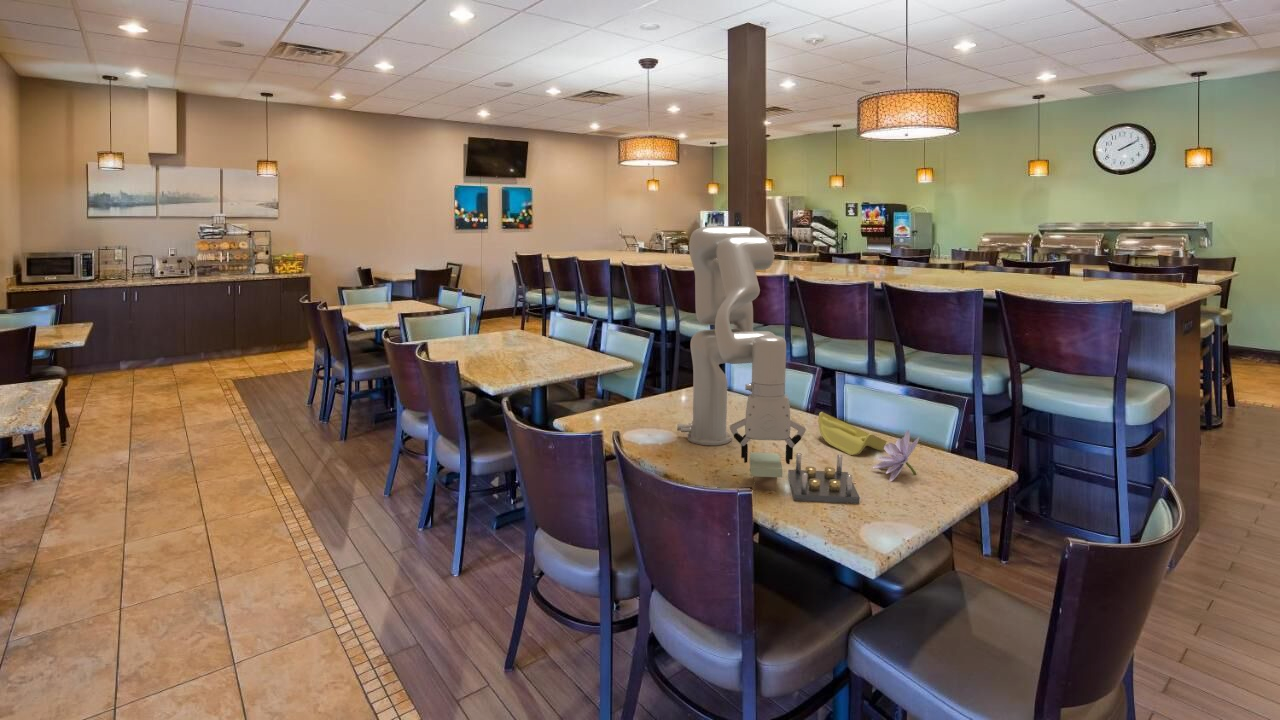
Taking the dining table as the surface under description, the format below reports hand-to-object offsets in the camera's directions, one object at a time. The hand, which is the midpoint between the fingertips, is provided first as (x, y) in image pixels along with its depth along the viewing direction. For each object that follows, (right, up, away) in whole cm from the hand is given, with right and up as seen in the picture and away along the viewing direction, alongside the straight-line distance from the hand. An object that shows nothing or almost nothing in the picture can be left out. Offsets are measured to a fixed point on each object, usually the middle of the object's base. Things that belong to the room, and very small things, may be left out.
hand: (766, 461), depth 159 cm
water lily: (+33, -5, +9) cm, 35 cm away
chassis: (+13, -6, -1) cm, 14 cm away
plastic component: (+29, 0, +32) cm, 43 cm away
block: (0, -6, +2) cm, 6 cm away
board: (0, -2, +1) cm, 2 cm away
